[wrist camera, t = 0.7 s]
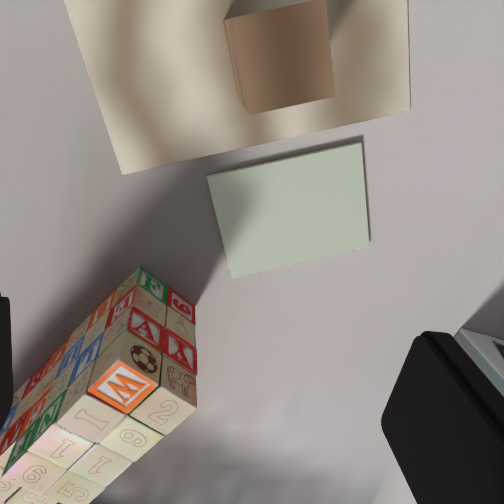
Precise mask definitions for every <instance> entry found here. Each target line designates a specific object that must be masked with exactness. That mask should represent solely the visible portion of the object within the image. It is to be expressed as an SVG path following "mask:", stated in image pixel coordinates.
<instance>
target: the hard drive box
mask: <svg viewBox="0 0 504 504" xmlns="http://www.w3.org/2000/svg"><path fill="white" fill-rule="evenodd" d="M454 339H455V340H456V341H457V342H458V344H459V345H460V346H461V347H462V348H463V349H464V351H465V352H466V353H467V354H468V355H469V356H470V358H471V359H472V360H473V361H474V362H475V364H476V365H477V366H478V367H479V368H480V369H481V371H482V372H483V373H484V374H485V375H486V376H487V378H488V379H489V380H490V381H491V382H492V384H493V385H494V386H495V387H496V388H497V389H498V391H499V392H500V393H501V394H502V395H503V396H504V341H503V340H500V339H498V338H495V337H491V336H488V335H484V334H480V333H477V332H473V331H470V330H466V329H463V328H461V329H460V330H459V331H458V333H457V334H456V336H455V337H454Z"/></svg>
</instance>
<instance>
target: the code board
mask: <svg viewBox="0 0 504 504" xmlns="http://www.w3.org/2000/svg"><path fill="white" fill-rule="evenodd" d="M308 1H313V0H64V2H65V5H66V8H67V11H68V14H69V17H70V20H71V23H72V26H73V29H74V32H75V35H76V38H77V41H78V44H79V47H80V50H81V53H82V56H83V59H84V62H85V65H86V68H87V71H88V74H89V77H90V80H91V83H92V86H93V89H94V92H95V95H96V98H97V100H98V103H99V106H100V109H101V112H102V115H103V118H104V121H105V124H106V127H107V130H108V133H109V136H110V139H111V142H112V145H113V148H114V151H115V154H116V157H117V160H118V163H119V166H120V169H121V172H122V175H124V174H128V173H133V172H137V171H142V170H146V169H151V168H155V167H160V166H164V165H169V164H173V163H178V162H182V161H187V160H191V159H196V158H200V157H205V156H209V155H214V154H218V153H223V152H227V151H232V150H236V149H241V148H245V147H250V146H254V145H259V144H263V143H268V142H272V141H277V140H281V139H286V138H290V137H295V136H299V135H304V134H308V133H313V132H318V131H322V130H327V129H331V128H336V127H340V126H345V125H349V124H354V123H358V122H363V121H367V120H372V119H376V118H381V117H385V116H390V115H394V114H399V113H403V112H408V111H410V85H409V46H408V7H407V0H326V6H327V16H328V26H329V36H330V46H331V56H332V66H333V76H334V86H335V97H331V98H326V99H322V100H317V101H313V102H308V103H304V104H299V105H295V106H290V107H286V108H281V109H276V110H272V111H267V112H263V113H258V114H254V115H250V114H249V113H248V111H247V110H246V109H245V107H244V106H243V104H242V103H241V102H240V100H239V99H238V94H237V89H236V84H235V79H234V74H233V68H232V63H231V58H230V53H229V48H228V43H227V38H226V33H225V28H224V22H223V21H224V20H227V19H230V18H233V17H238V16H243V15H247V14H252V13H257V12H261V11H266V10H271V9H275V8H280V7H285V6H289V5H294V4H299V3H303V2H308Z"/></svg>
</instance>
